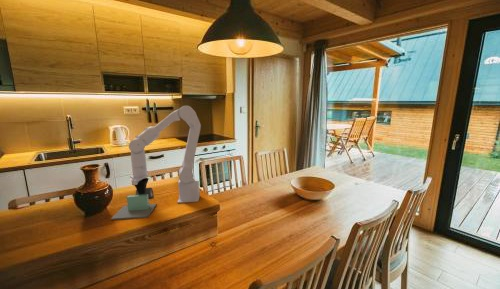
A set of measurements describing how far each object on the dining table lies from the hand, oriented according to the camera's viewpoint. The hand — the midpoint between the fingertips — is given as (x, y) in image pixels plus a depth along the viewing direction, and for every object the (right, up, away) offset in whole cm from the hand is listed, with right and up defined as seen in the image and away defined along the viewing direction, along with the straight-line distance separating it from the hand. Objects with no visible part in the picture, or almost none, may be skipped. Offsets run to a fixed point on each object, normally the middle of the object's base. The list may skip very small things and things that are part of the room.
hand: (142, 195), depth 104 cm
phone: (-5, -3, +14) cm, 15 cm away
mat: (0, -6, -6) cm, 8 cm away
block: (+1, -5, -4) cm, 7 cm away
